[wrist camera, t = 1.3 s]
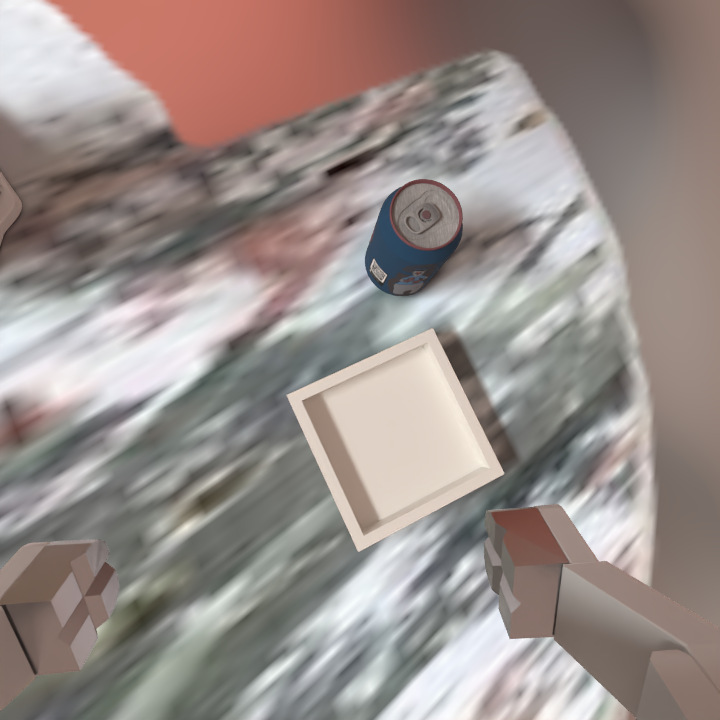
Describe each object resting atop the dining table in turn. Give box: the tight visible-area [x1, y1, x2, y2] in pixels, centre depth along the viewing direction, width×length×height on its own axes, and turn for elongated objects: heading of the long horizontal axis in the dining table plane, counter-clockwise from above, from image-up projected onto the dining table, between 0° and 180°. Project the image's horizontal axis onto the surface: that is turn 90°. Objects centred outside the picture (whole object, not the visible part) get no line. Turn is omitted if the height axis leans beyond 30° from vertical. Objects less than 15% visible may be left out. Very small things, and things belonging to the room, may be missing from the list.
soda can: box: [365, 179, 463, 296], centre depth 41 cm, size 7×7×12 cm
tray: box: [287, 328, 504, 552], centre depth 43 cm, size 15×15×3 cm
